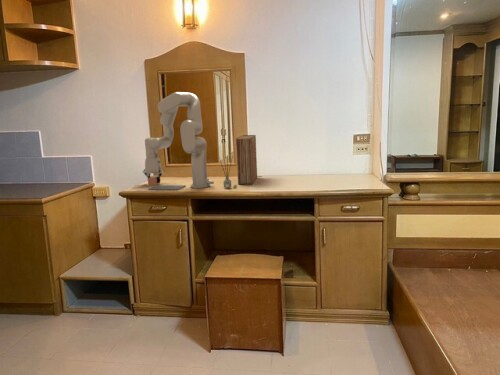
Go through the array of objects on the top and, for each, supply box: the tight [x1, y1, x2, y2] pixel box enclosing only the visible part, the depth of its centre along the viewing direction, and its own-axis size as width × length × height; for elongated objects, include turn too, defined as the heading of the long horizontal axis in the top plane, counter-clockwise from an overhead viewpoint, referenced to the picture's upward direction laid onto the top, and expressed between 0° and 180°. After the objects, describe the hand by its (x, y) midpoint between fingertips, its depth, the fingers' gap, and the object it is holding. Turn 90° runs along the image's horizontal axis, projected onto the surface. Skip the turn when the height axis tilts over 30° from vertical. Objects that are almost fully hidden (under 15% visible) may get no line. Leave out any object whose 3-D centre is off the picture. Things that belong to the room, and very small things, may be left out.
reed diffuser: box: [218, 155, 238, 189], centre depth 240 cm, size 10×7×20 cm
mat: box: [148, 184, 186, 191], centre depth 248 cm, size 20×12×1 cm, turn 77°
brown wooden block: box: [235, 134, 258, 186], centre depth 259 cm, size 25×9×30 cm, turn 171°
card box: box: [147, 175, 161, 186], centre depth 265 cm, size 6×8×5 cm, turn 173°
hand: (154, 182), depth 265 cm, fingers closed on card box, 5 cm apart
